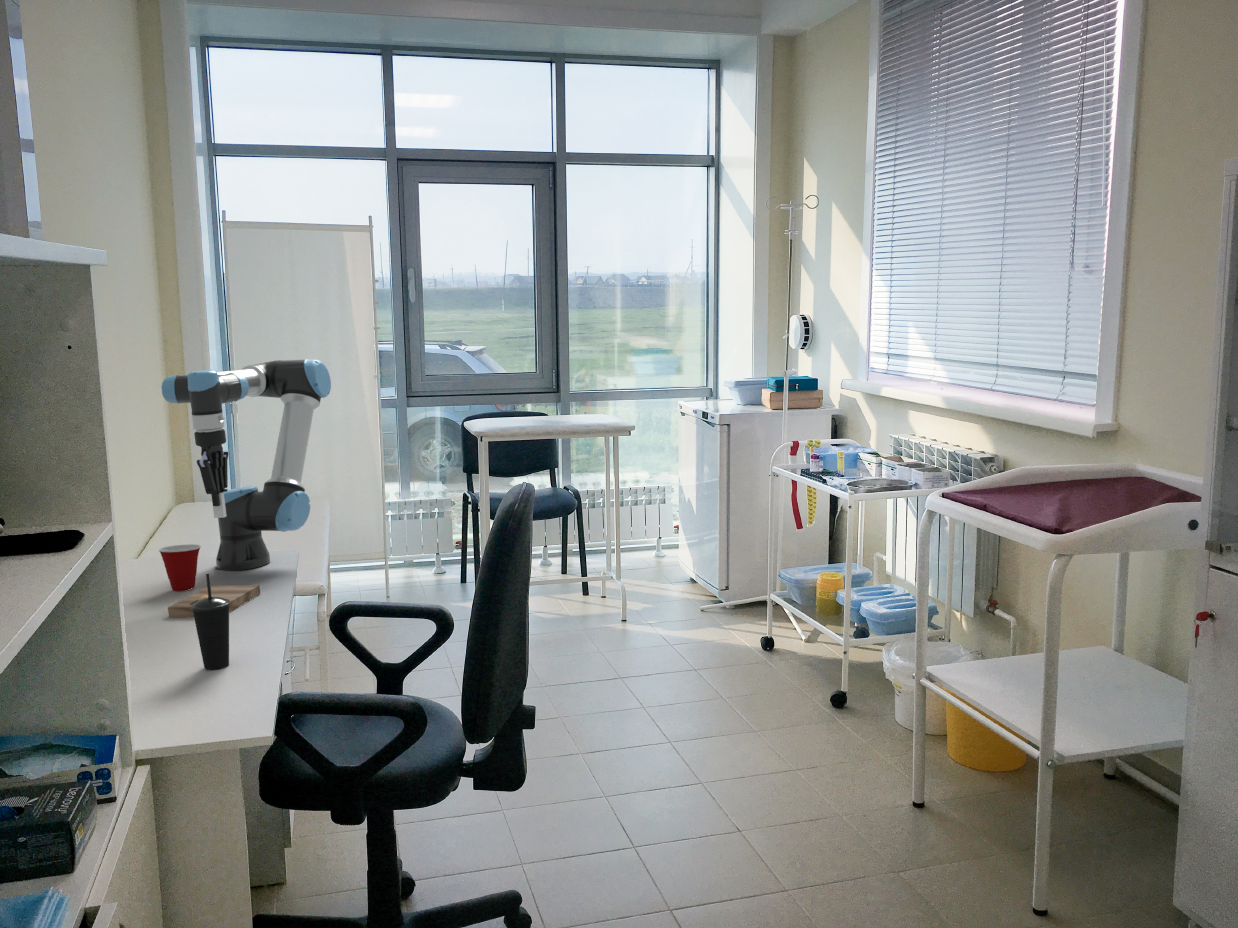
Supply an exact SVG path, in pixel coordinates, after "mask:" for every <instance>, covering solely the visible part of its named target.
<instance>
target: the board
mask: <svg viewBox="0 0 1238 928" xmlns="http://www.w3.org/2000/svg"><path fill="white" fill-rule="evenodd" d="M210 585H211V584H210ZM260 587H261V586H260V584H248V585H247V584H241V585H238V584H235V585H233V584H230V585H229V584H227V585H226V584H224V585H223V584H221V585H220V584H218V585H217V584H215V585H214V584H213V585H211V595H212V597H221V598H224V599H228V600H230V605H229V612H230V613H231V611H232V612H233V611H235V610H237V609H239V608H240V607H241V606H240V605H242V606H243V605H245V604H246V603H245V602H247V601H248V602H250V601H251V600H250V599H252V598H253V597H255V596H257V595H258V594H260V595H261V588H260ZM203 595H208V591H207V586H205V587H204V588H201V589H200V590H198V591H196V592H195V593H193V594H191V595H189V596H187V597H185V598H183V599H181V600H179V601H178V602H175V603H173V604H172V605H169V606H168V607H167V614H168V615H167V616H168V618H194V615H193V610H191V605H192V604H194V603H196V602H197V601H199V599H200V598H201V597H202V596H203ZM258 596H259V595H258ZM258 596H257V597H258ZM255 598H256V597H255ZM253 599H254V598H253ZM253 599H252V600H253ZM249 600H250V601H249ZM248 602H247V603H248ZM244 603H245V604H244ZM239 606H240V607H239ZM236 608H237V609H236ZM234 609H235V610H234Z"/></svg>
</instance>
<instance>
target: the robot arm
mask: <svg viewBox="0 0 1238 928" xmlns="http://www.w3.org/2000/svg"><path fill="white" fill-rule="evenodd" d="M331 380H332V379H331V376H330V372H329V370H328V367H327V366H326V365H325V363H324V362H322V361H321V360H319V359H309V358H306V359H288V360H287V359H285V360H280V359H279V360H270V361H265V362H262V363H257V364H251V365H246V366H243V367H242V368H241V369H234V370H227V371H226V370H224V371H217V370H215V369H204V370H194V371H190V372H189V373H188V374H183V375H179V374H176V375H169V376H167V377H164V379H163V381H162V383H161V394H162V397H163V399H164V400H165V401H166V402H168V403H171V404H177V405H178V404H190V406H191V419H192V429H193V431H194V430H195V432H194V441H195V442H194V443H195V445H196V446H198V447H200V451H201V452H200V455H201V458H200V459H197V460H196V464H197V466H198V468H199V472H200V476H201V478H202V479H201V480H202V482H203V487H204V490H205V494H206V495H211V496H210V497H211V503H212V512H213V518H214V519H215V518H216V519H218V520H217V521H218V531H219V539H220V541H219V546H218V550H217V554H216V557H215V558H216V559H215V564H216V565H215V566H216V568H217V569H219V570H221V571H241V570H242V571H243V570H244V571H245V570H249V569H250V570H251V569H254V568H259V567H264V566H266V565H267V564H269V563H270V562H271V556H270V552H269V550H268V548H267V545H266V543H265V541H264V539H263V535H262V531H263V532H264V531H265V532H266V531H267V532H269V531H270V532H273V531H274V532H282V533H283V532H291V531H292V532H293V531H297V530H300V529H301V528H302V527H303V526H304V525H305V524H306V522H307V521H308V518H309V515H310V512H311V504H310V501H311V500H310V497H309V496H308V494H307V493H306V492H305V491H306V488H305V487H304V485H303V484H302V480H303V479H302V477H303V472H304V468H305V467H304V466H305V460H306V455H307V450H308V444H309V437H310V433H311V428H312V427H311V426H312V420H313V414H314V411H315V410H316V409H317V408H319V407H320V405H321V401H322V399H321V398H323V399H325V398H327V397H328V396H329V395H330V393H331V390H332V389H331V388H332V382H331ZM246 396H247V397H250V398H256V397H262V398H263V397H264V398H265V397H266V398H276V399H280V401H281V402H282V403H283V405H284V406H283V411H282V417H281V422H280V427H279V432H278V437H277V444H276V448H275V454H274V460H273V465H272V470H271V476H270V478H269V479H268V480H266V481H264V484H263V489H262V491H259V488H258V487H257V485H249V486H248V485H247V486H242V487H237V488H236V487H235V488H232V489H228V487H229V486H228V483H229V482H228V475H229V474H228V459H229V451H224V448H223V445H224V444H226V443H227V436H226V430H225V429H224V427H225V421H224V420H225V417H224V415H223V413H224V412H223V405H222V404H228V403H231V402H237V401H240V400H242V399H245V397H246Z"/></svg>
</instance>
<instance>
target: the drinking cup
mask: <svg viewBox="0 0 1238 928" xmlns="http://www.w3.org/2000/svg"><path fill="white" fill-rule="evenodd" d="M205 581H206V587H207V591H208V598H204V599H201V600H199V601H197V602H196V603H194V604H192V605H191V610H193V615H194V617H193V619H194V623H195V629H196V634H197V638H198V644H199V649H200V654H201V658H202V662H203V663H202V664H203V667H204V670H205V671H206V670H207V671H217V670H222V669H223V670H224V669H225V668H227V667H229V665H230V613H229V605H230V600H228V599H224V598H221V597H212V595H211V576H210V573H205Z"/></svg>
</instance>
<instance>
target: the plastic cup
mask: <svg viewBox="0 0 1238 928" xmlns="http://www.w3.org/2000/svg"><path fill="white" fill-rule="evenodd" d="M201 547H202V545H201V544H189V543H188V544H176V545H175V544H174V545H168V546H167V545H166V546H162V547H158V548H157V549H158V552H159V554H160V556H161V558H162V559H161V560H162V561H163V563H164V568H165V571H166V575H167V578H168V581H169V583H170V587H171V589H172V591H173V592H186V591H185V590H187V591H189V590H188V589H191V588H193V587H196V579H197V572H198V571H197V570H198V558H199V553H200V549H201ZM193 589H194V588H193ZM191 590H192V589H191Z"/></svg>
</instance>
